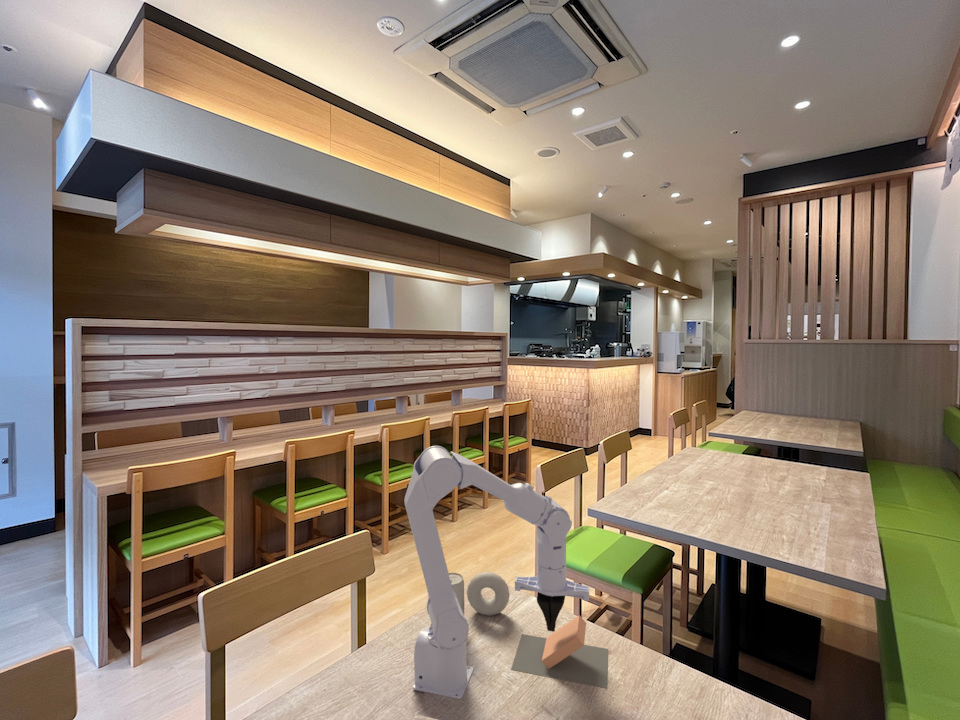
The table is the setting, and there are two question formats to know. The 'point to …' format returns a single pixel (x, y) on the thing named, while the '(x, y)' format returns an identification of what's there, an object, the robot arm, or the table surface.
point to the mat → (563, 662)
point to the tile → (564, 642)
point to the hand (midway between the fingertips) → (551, 628)
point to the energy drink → (458, 587)
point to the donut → (484, 604)
